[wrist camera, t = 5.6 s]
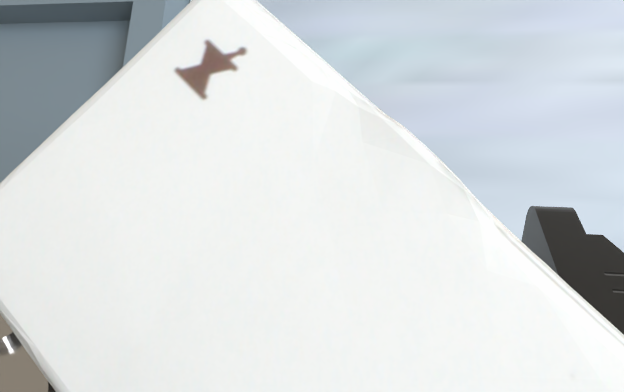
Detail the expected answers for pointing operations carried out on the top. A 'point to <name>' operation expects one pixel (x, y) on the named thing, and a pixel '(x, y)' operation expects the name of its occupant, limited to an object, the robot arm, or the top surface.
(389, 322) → the skincare box
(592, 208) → the top surface
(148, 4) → the tray
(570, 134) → the top surface
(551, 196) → the top surface
